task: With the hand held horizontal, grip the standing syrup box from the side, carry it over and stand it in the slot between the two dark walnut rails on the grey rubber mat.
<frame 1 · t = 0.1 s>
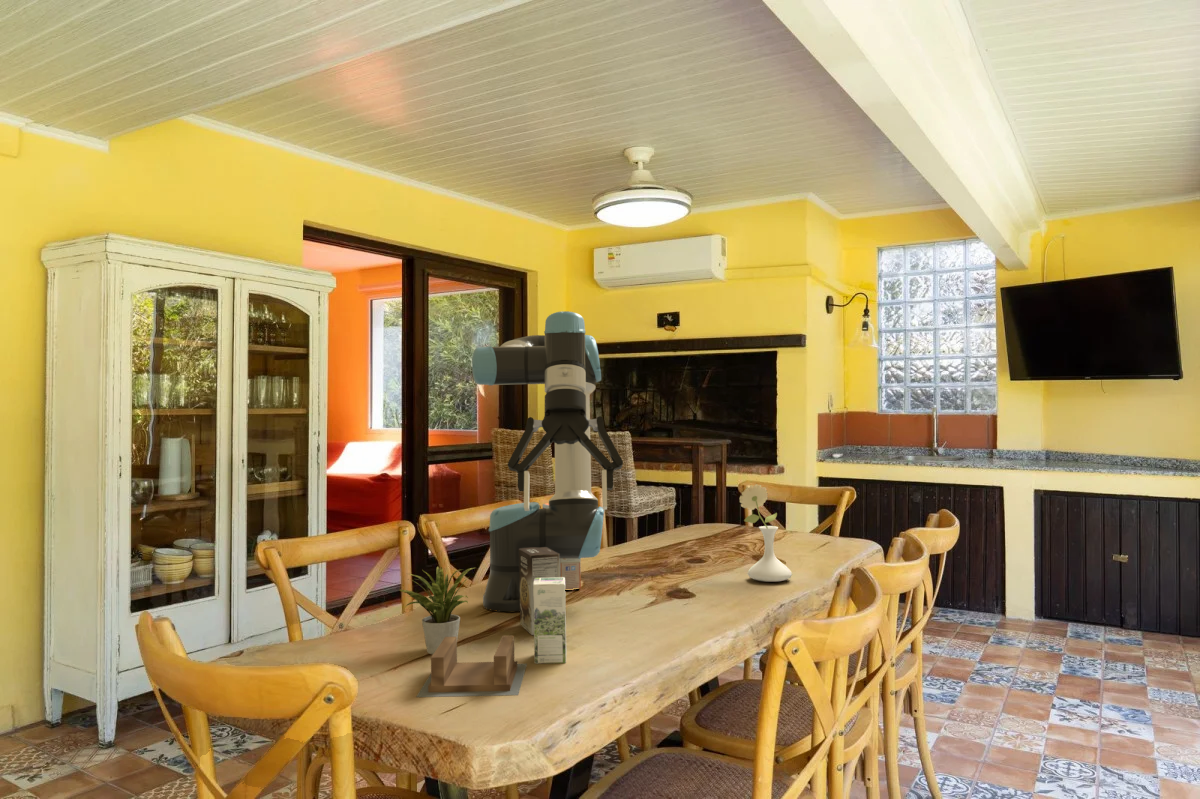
hand: (565, 509, 141), 28 cm above the table, tool tilted 20°, fingers open, 13 cm apart
syrup box: (550, 661, 146), on the table
rack: (474, 679, 135), resting on mat
coffee box: (539, 629, 168), on the table
house plant: (444, 651, 154), on the table
cracker box: (562, 586, 209), on the table
mat: (474, 681, 135), on the table
flower in vase: (766, 581, 211), on the table
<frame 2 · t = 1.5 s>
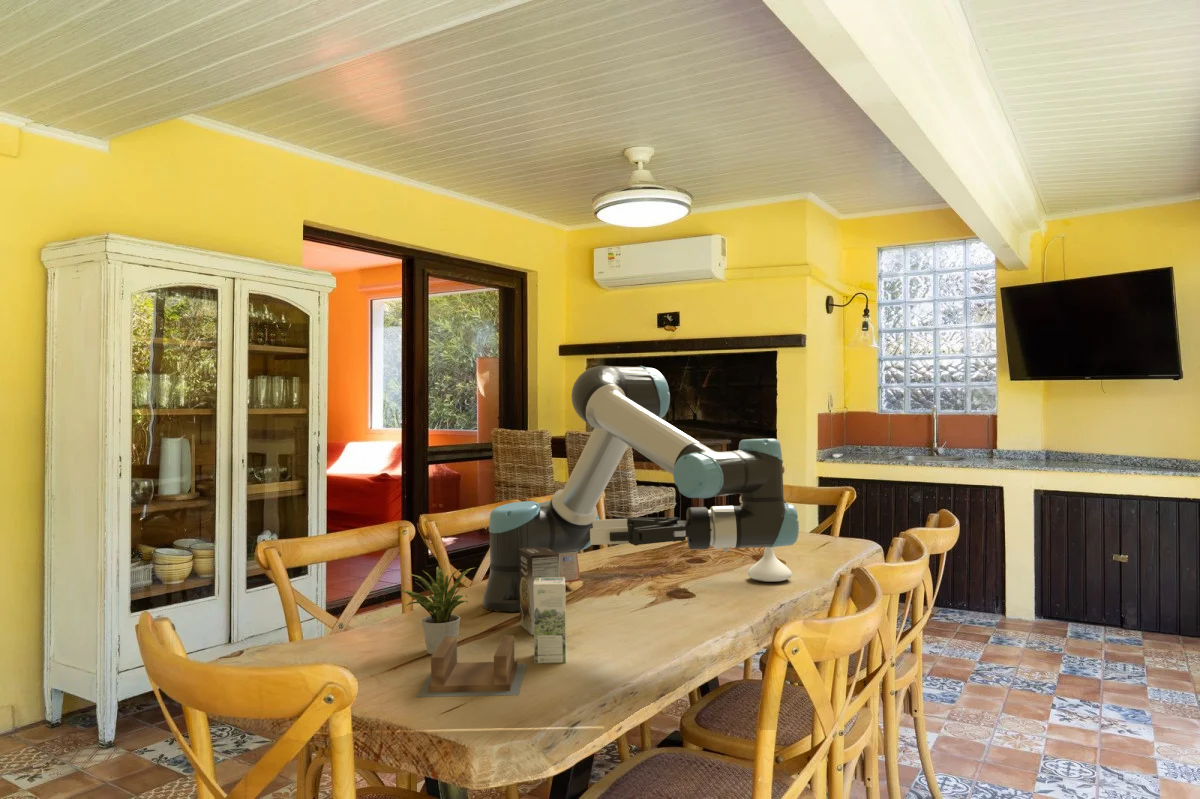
hand: (591, 531, 146), 23 cm above the table, tool horizontal, fingers open, 13 cm apart
cracker box: (561, 582, 209), point 1 cm above the table, touching arm
everything else where it was.
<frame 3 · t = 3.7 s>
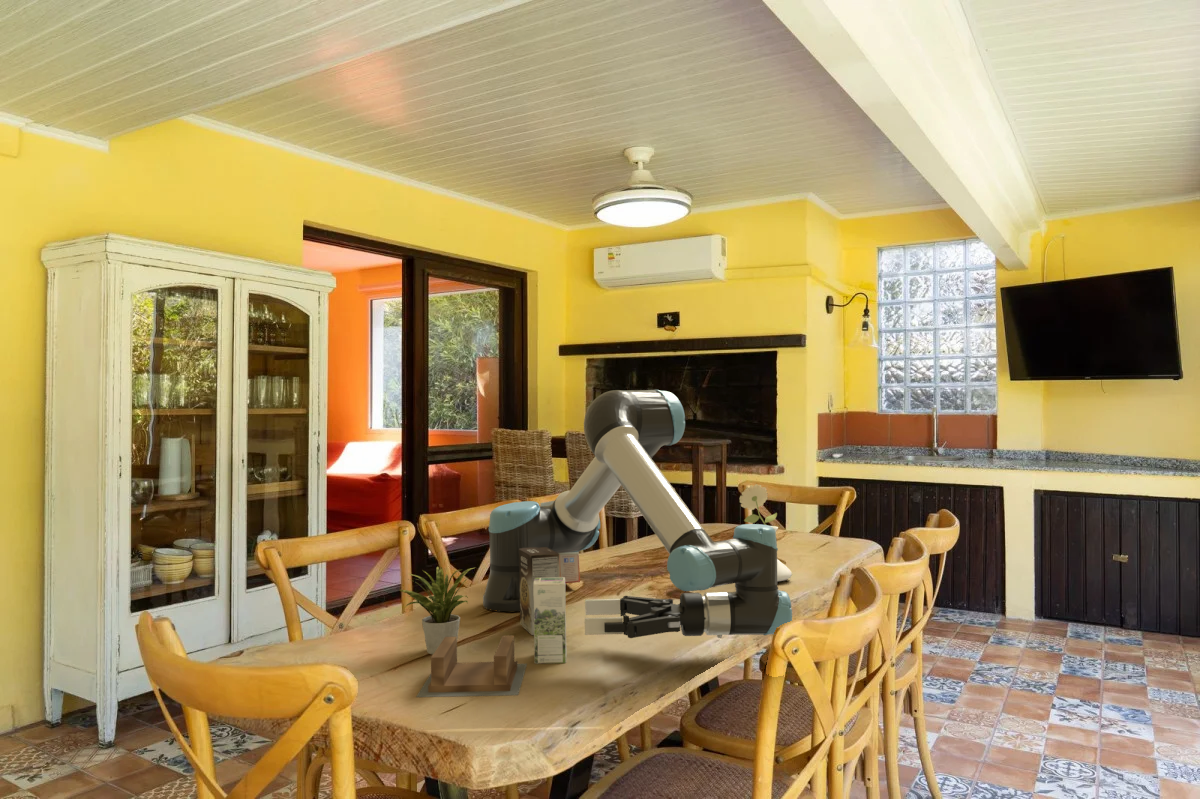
hand: (584, 616, 146), 8 cm above the table, tool horizontal, fingers open, 13 cm apart
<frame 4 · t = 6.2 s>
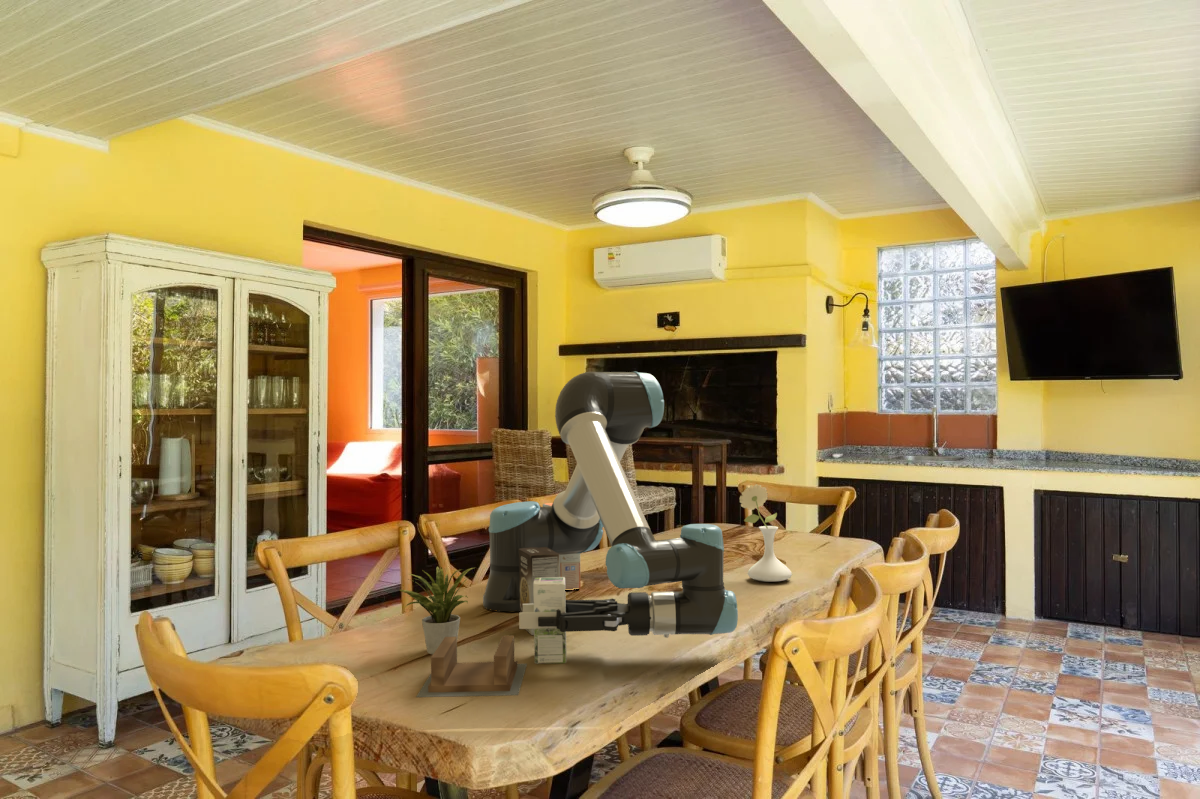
hand: (521, 616, 146), 8 cm above the table, tool horizontal, fingers closed on syrup box, 6 cm apart
syrup box: (550, 661, 146), on the table, touching gripper
cracker box: (562, 586, 209), on the table
everything else where it was.
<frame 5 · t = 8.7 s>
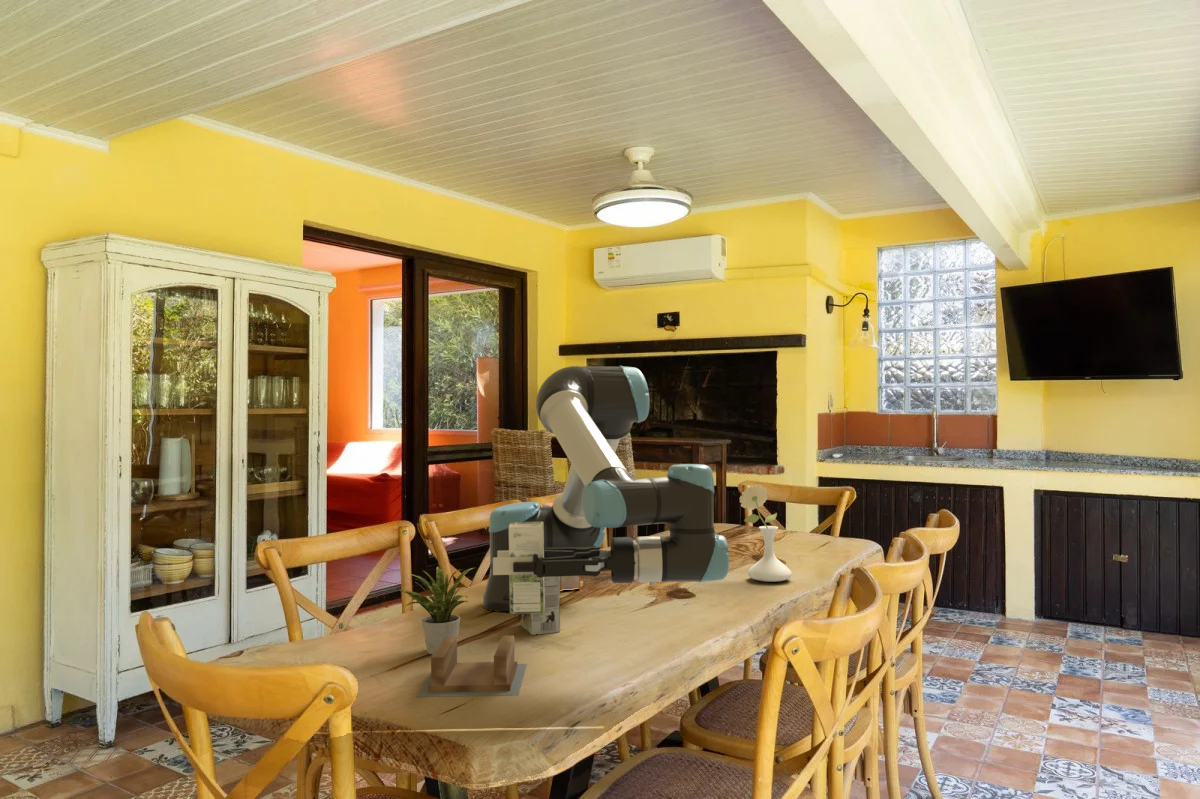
hand: (495, 562, 135), 20 cm above the table, tool horizontal, fingers closed on syrup box, 6 cm apart
syrup box: (527, 611, 135), point 11 cm above the table, touching gripper
everything else where it was.
when the fingers open (11 cm above the table, at t = 11.5 s): syrup box drops 2 cm, resting on rack.
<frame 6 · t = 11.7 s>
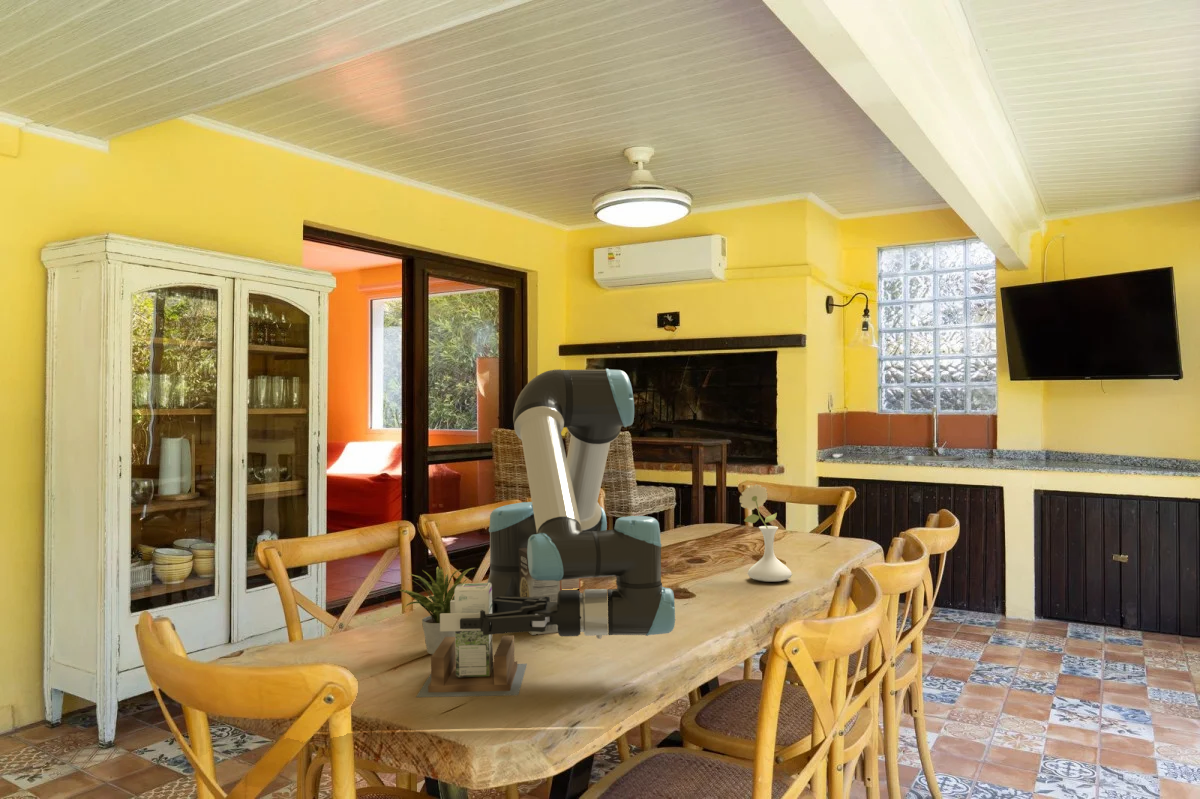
hand: (445, 615, 135), 11 cm above the table, tool horizontal, fingers open, 8 cm apart
syrup box: (474, 674, 135), point 1 cm above the table, touching rack
everything else where it was.
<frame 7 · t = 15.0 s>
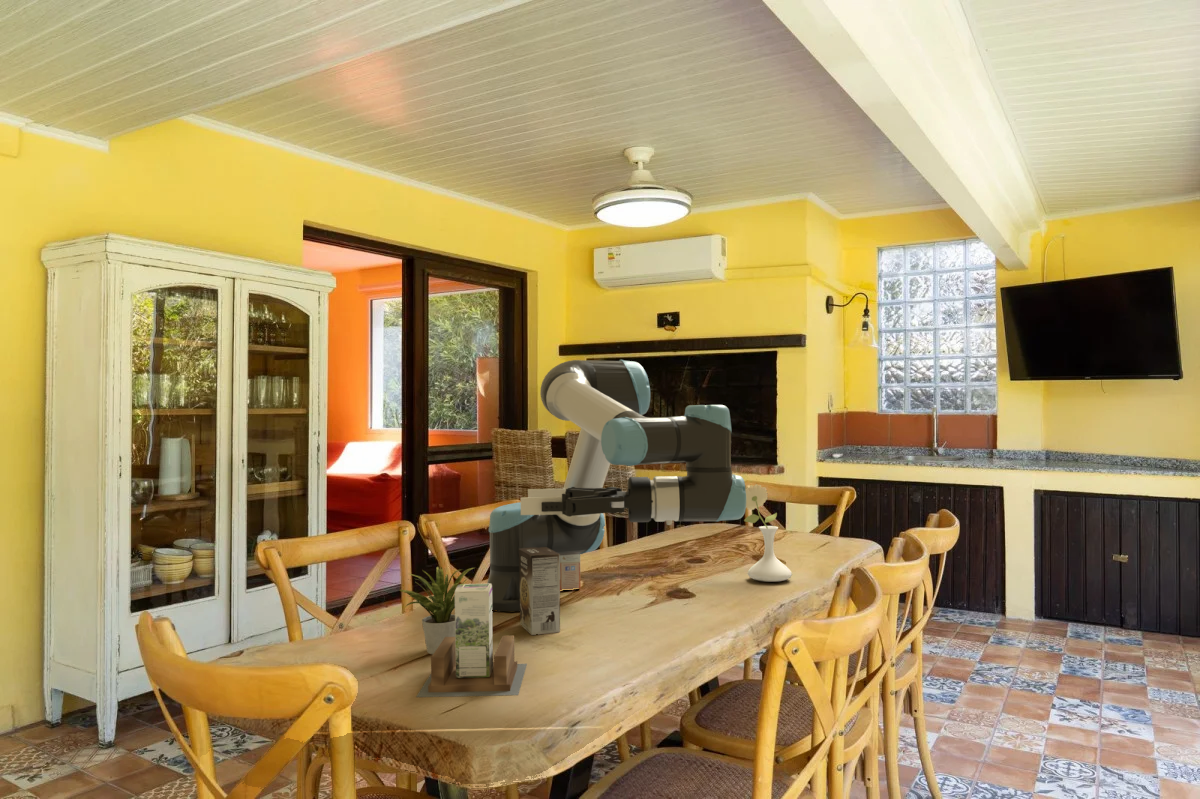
hand: (524, 501, 136), 30 cm above the table, tool horizontal, fingers open, 13 cm apart
nothing on the table moved.
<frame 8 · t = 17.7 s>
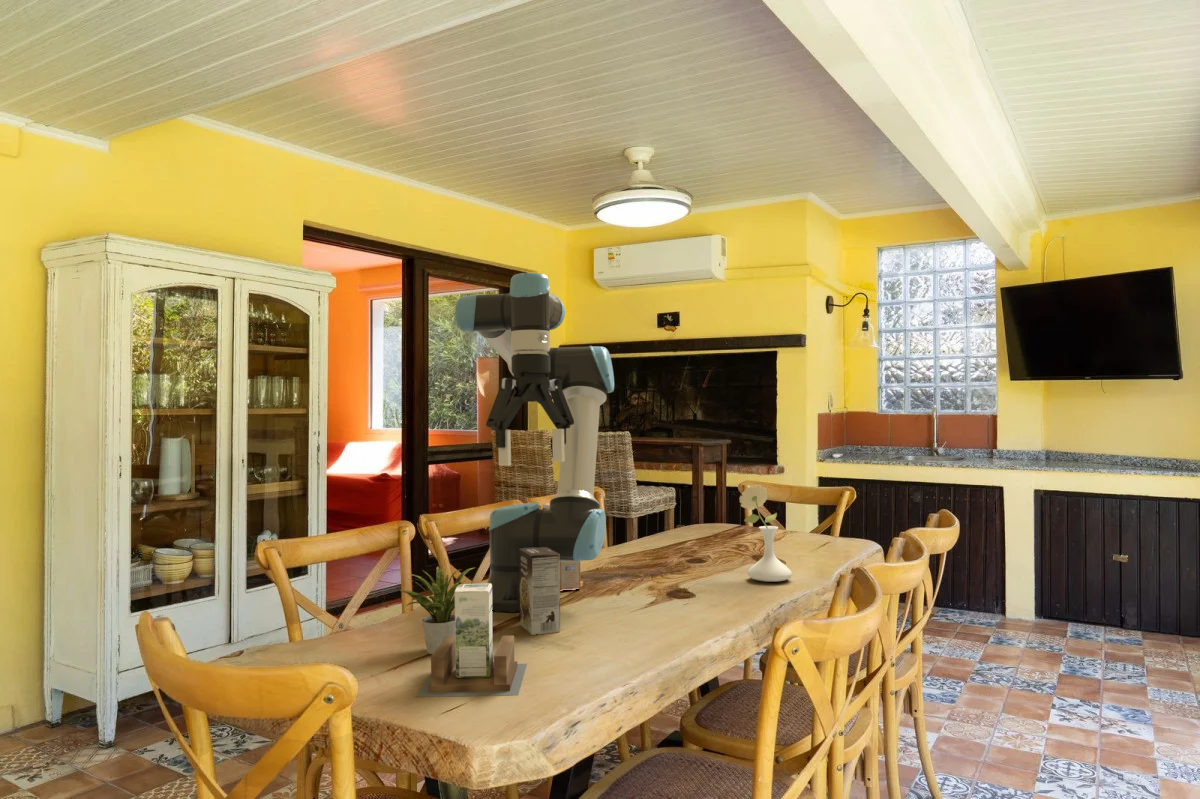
hand: (532, 463, 157), 35 cm above the table, tool pointing down, fingers open, 13 cm apart
nothing on the table moved.
at the end: syrup box inside the target area on the rack (0.1 cm from its centre), point 0.8 cm above the rack's base; syrup box tilted 0°; the gripper is holding nothing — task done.
